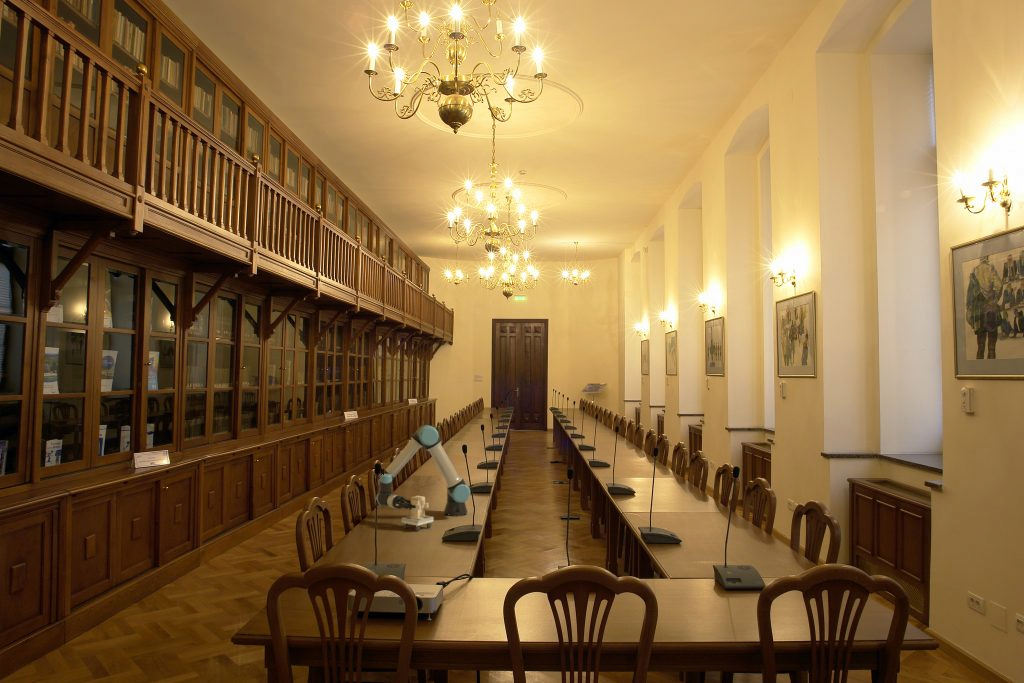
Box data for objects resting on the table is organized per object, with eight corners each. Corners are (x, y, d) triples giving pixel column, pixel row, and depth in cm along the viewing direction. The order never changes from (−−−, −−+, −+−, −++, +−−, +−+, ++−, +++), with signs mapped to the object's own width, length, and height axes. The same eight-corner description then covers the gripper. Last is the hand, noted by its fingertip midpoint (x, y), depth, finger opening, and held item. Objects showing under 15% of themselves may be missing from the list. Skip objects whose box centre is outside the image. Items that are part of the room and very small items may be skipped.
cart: (417, 524, 404) (417, 513, 404) (433, 527, 396) (433, 516, 396) (401, 528, 393) (401, 517, 393) (417, 531, 385) (417, 520, 386)
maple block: (417, 515, 399) (417, 495, 400) (424, 517, 396) (425, 496, 396) (410, 517, 394) (410, 497, 395) (417, 518, 391) (418, 498, 391)
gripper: (407, 505, 413) (435, 510, 400) (384, 510, 398) (412, 515, 384) (407, 493, 414) (435, 497, 400) (385, 497, 398) (412, 502, 385)
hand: (424, 506), depth 392 cm, fingers closed on maple block, 6 cm apart
